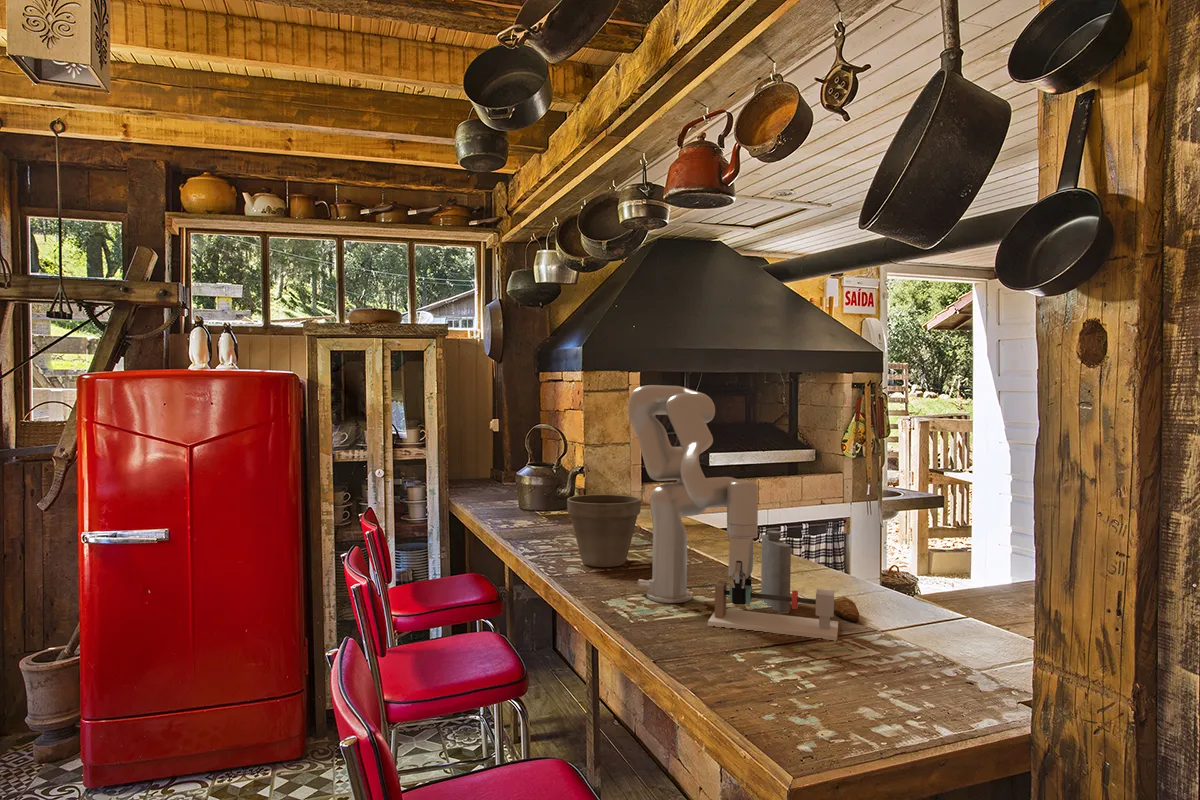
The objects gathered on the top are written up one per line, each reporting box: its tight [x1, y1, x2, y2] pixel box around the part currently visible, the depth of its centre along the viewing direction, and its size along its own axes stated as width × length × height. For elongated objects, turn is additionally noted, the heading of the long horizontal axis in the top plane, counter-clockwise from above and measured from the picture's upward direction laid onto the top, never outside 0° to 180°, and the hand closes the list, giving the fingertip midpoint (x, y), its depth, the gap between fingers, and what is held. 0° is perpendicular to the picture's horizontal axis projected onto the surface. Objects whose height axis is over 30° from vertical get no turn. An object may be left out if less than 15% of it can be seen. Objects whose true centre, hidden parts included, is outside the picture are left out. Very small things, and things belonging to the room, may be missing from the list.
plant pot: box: [566, 493, 642, 568], centre depth 244 cm, size 25×25×22 cm
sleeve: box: [729, 583, 753, 605], centre depth 181 cm, size 5×4×4 cm
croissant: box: [834, 596, 860, 623], centre depth 188 cm, size 14×7×5 cm, turn 6°
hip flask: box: [760, 530, 792, 614], centre depth 197 cm, size 16×4×20 cm, turn 7°
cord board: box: [707, 580, 839, 641], centre depth 178 cm, size 30×12×10 cm, turn 71°
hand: (741, 599), depth 181 cm, fingers open, 9 cm apart
